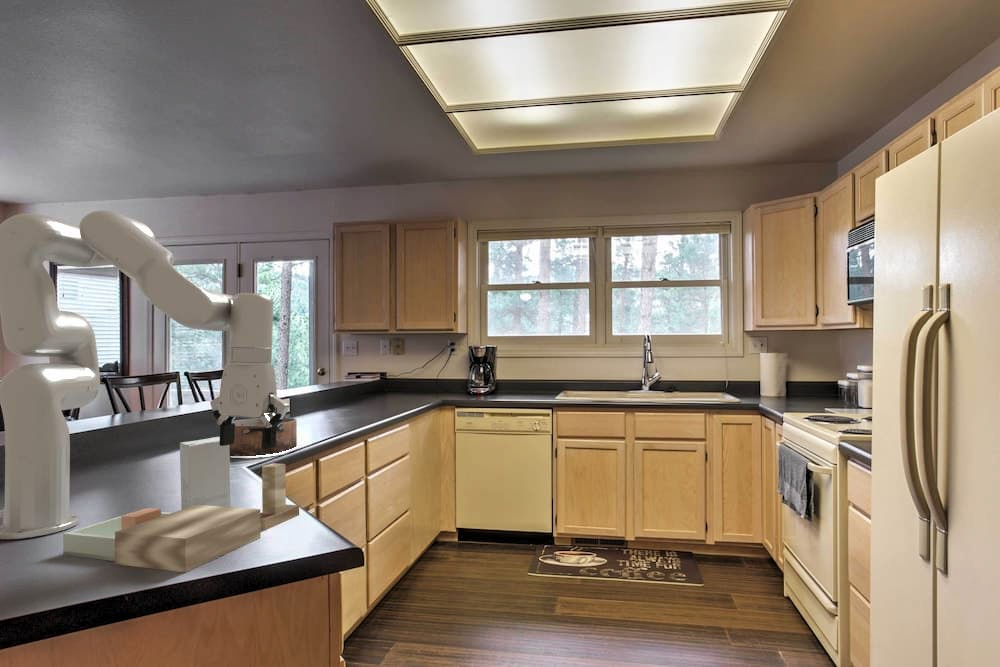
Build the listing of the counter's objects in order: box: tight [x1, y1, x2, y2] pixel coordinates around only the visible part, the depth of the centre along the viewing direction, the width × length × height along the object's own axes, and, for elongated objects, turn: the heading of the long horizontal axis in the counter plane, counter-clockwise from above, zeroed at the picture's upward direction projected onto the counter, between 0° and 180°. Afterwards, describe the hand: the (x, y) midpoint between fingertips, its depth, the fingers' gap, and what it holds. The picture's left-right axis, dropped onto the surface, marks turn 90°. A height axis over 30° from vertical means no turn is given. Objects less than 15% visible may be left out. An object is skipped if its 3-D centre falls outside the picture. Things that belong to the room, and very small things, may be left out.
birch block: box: [114, 505, 261, 573], centre depth 93 cm, size 14×16×5 cm
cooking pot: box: [229, 417, 298, 456], centre depth 186 cm, size 30×22×11 cm
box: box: [62, 511, 172, 562], centre depth 96 cm, size 12×14×4 cm
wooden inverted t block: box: [260, 463, 300, 531], centre depth 108 cm, size 4×10×11 cm, turn 163°
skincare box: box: [179, 436, 232, 510], centre depth 117 cm, size 8×6×15 cm
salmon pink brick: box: [120, 507, 162, 530], centre depth 95 cm, size 5×5×3 cm
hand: (247, 446), depth 106 cm, fingers open, 9 cm apart
